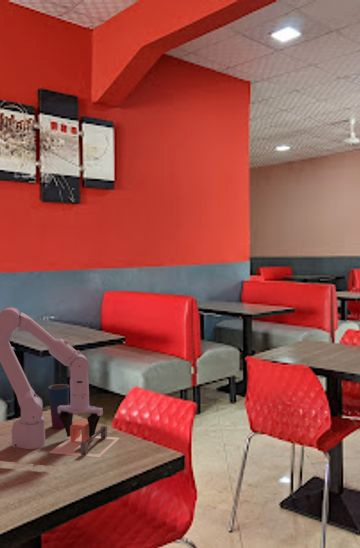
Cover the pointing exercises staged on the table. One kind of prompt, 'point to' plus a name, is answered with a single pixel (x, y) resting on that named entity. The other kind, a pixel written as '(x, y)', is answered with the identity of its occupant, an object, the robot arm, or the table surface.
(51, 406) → the cup
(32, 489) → the table surface
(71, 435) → the orange u-shaped block
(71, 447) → the pink flat square base
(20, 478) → the table surface
